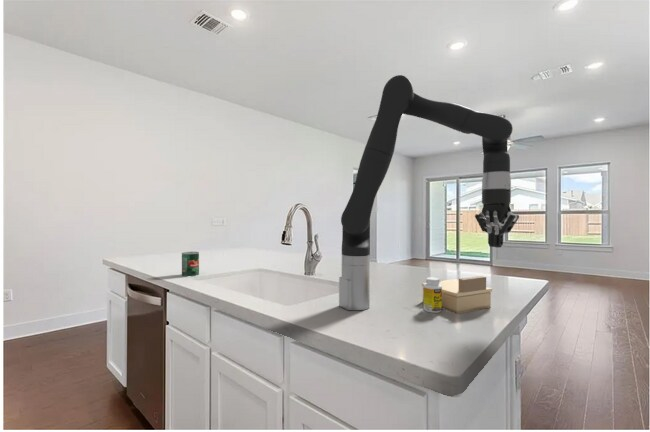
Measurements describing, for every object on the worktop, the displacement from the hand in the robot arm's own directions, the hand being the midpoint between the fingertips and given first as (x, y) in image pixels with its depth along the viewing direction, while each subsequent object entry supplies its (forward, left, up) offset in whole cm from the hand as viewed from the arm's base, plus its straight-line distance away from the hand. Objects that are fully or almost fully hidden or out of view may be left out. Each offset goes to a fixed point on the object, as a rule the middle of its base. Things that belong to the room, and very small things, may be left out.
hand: (495, 246), depth 96 cm
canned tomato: (-79, +106, -21) cm, 134 cm away
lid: (0, +15, -16) cm, 22 cm away
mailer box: (0, +15, -21) cm, 26 cm away
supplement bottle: (-12, +13, -21) cm, 28 cm away
